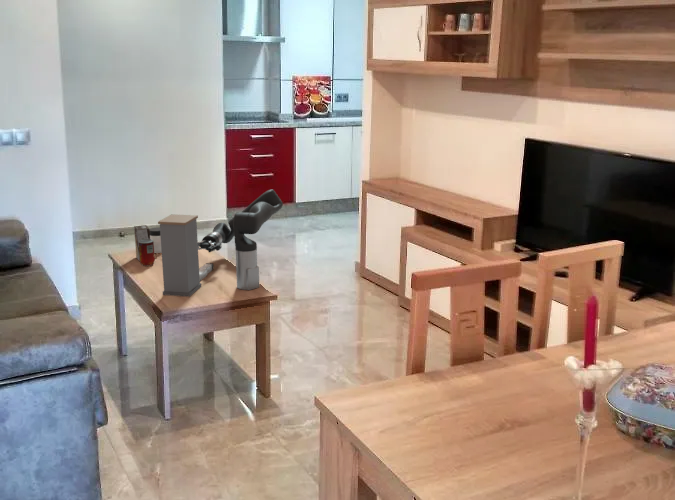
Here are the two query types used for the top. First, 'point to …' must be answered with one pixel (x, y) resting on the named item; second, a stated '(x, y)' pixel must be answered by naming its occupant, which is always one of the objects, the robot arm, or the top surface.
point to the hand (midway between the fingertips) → (200, 249)
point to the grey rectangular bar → (205, 270)
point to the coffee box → (140, 236)
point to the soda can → (146, 252)
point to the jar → (156, 239)
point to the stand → (180, 255)
